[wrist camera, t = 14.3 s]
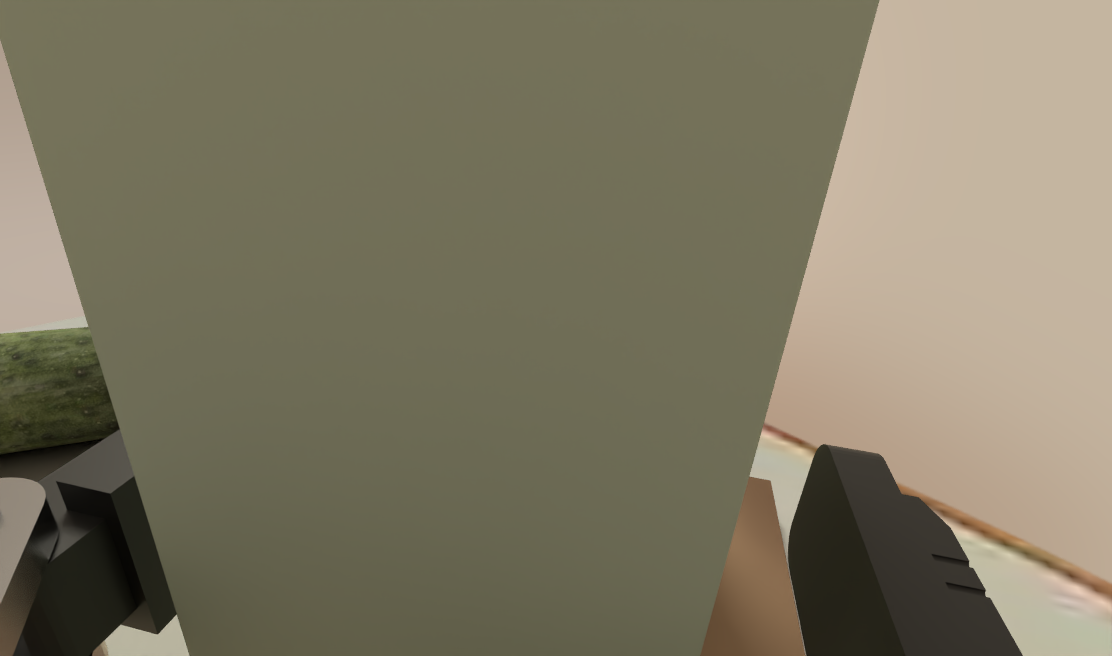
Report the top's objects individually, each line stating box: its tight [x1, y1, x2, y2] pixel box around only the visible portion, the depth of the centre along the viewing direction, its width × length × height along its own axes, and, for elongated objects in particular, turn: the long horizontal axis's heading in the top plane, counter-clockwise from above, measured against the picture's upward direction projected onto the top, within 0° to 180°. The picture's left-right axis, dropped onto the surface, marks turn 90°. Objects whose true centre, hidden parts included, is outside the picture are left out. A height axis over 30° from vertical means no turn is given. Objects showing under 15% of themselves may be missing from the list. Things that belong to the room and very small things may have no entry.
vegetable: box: [0, 327, 120, 454], centre depth 24 cm, size 14×5×5 cm, turn 114°
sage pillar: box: [0, 0, 879, 656], centre depth 8 cm, size 5×5×15 cm
